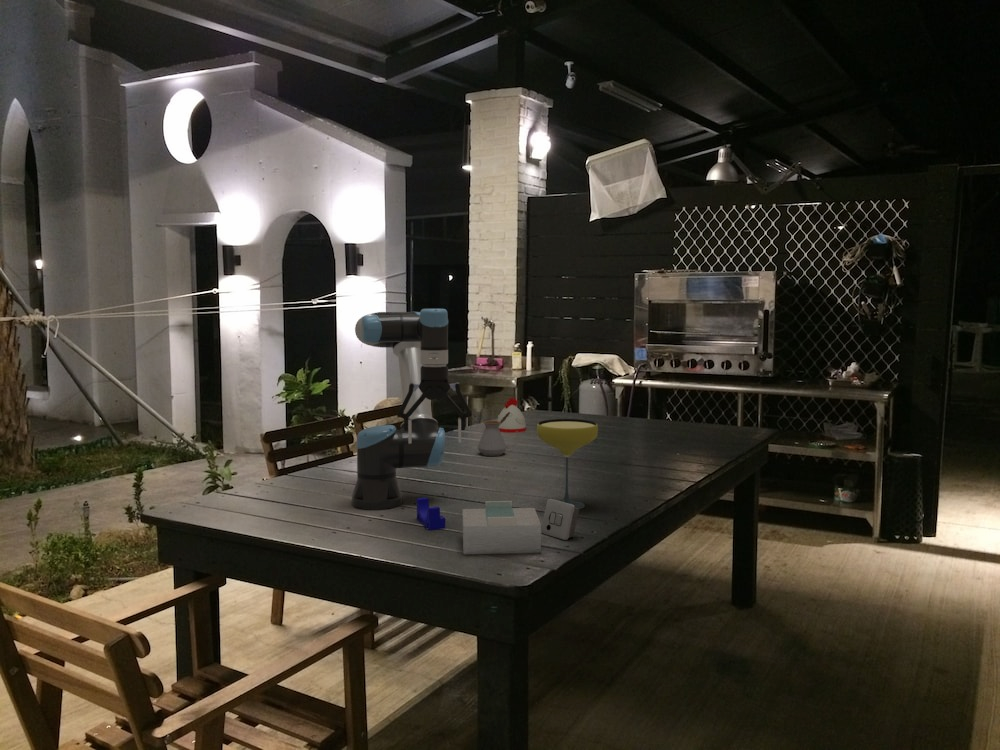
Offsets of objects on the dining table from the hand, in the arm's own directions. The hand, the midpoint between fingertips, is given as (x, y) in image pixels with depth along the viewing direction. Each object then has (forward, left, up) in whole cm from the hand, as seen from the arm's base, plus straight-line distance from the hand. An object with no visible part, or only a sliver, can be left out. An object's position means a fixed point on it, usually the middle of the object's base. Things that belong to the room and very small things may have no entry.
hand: (434, 442), depth 223 cm
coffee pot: (+23, +99, -23) cm, 104 cm away
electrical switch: (+33, -13, -23) cm, 42 cm away
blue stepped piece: (-1, 0, -23) cm, 23 cm away
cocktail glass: (+39, +16, -23) cm, 48 cm away
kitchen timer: (+32, +151, -23) cm, 156 cm away
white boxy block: (+17, -20, -23) cm, 34 cm away
